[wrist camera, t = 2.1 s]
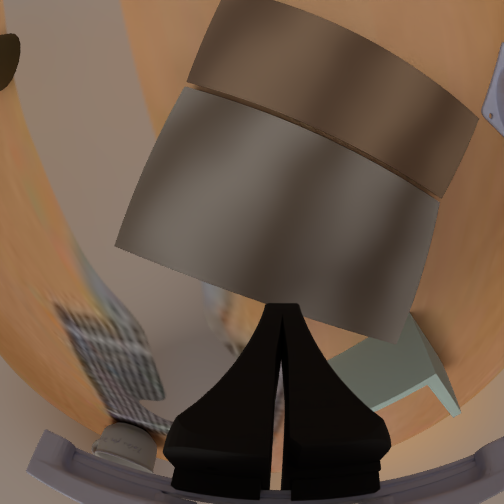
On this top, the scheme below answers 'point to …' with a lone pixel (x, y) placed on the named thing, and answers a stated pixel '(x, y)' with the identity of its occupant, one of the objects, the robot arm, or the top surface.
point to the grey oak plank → (280, 216)
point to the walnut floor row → (336, 86)
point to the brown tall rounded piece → (8, 58)
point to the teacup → (127, 447)
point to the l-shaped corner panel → (394, 369)
